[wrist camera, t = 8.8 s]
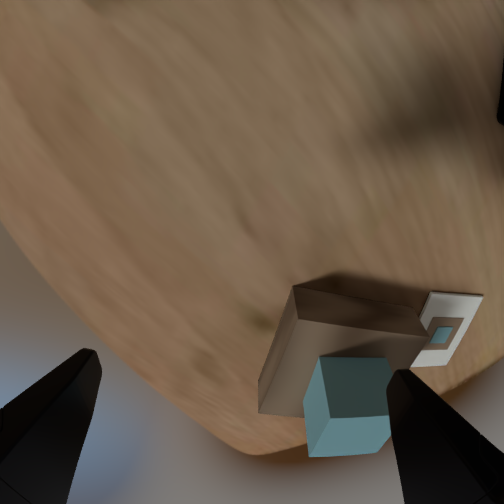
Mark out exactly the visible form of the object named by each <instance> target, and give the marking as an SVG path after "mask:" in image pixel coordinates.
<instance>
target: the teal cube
mask: <svg viewBox="0 0 504 504" xmlns="http://www.w3.org/2000/svg"><path fill="white" fill-rule="evenodd" d="M392 376H393V373H392V371H391V368H390V365H389V363H388V360H387V358H353V357H319V358H318V361H317V364H316V367H315V369H314V372H313V375H312V378H311V381H310V383H309V386H308V389H307V392H306V394H305V397H304V400H303V407H304V415H305V424H306V433H307V443H308V452H309V457H326V456H344V455H357V454H367V453H376V452H377V451H378V450H379V449H380V448H381V447H382V445H383V444H384V443H385V442H386V440H387V439H388V438H389V437H390V436H391V430H390V421H389V413H388V404H387V397H386V388H387V385H388V383H389V381H390V379H391V377H392Z"/></svg>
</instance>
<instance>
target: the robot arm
mask: <svg viewBox="0 0 504 504" xmlns="http://www.w3.org/2000/svg"><path fill="white" fill-rule="evenodd" d="M503 116H504V60H503V73H502V83H501V91H500V99H499V106H498V113H497V120H498V122H499V123H500V124H501V125H503V126H504V120H503ZM101 377H102V368H101V364H100V362H99V358H98V355H97V353H96V351H95V350H92V349H87V348H83V349H81V350H79V351H78V352H77V353H75V354H74V355H72V356H71V357H70V358H68V359H67V360H66V361H64V362H63V363H62V364H60V365H59V366H57V367H56V368H55V369H53V370H52V371H51V372H49V373H48V374H47V375H45V376H44V377H42V378H41V379H40V380H38V381H37V382H36V383H34V384H33V385H32V386H30V387H29V388H28V389H26V390H25V391H24V392H22V393H21V394H20V395H18V396H17V397H16V398H14V399H13V400H12V401H10V402H9V403H7V404H6V405H5V406H4V407H3V408H1V409H0V504H66V503H67V499H68V495H69V491H70V488H71V484H72V480H73V477H74V473H75V470H76V467H77V463H78V460H79V457H80V453H81V450H82V447H83V444H84V441H85V438H86V434H87V432H88V428H89V425H90V422H91V419H92V416H93V411H94V407H95V402H96V398H97V394H98V389H99V385H100V381H101ZM386 397H387V404H388V413H389V421H390V430H391V436H392V441H393V446H394V450H395V455H396V460H397V465H398V470H399V475H400V480H401V486H402V491H403V497H404V502H405V504H504V453H503V452H501V451H500V450H499V449H498V448H496V447H495V446H494V445H493V444H492V443H491V442H489V441H488V440H487V439H486V438H485V437H484V436H483V435H480V432H478V431H477V430H476V429H475V428H474V427H473V426H472V425H471V424H470V423H469V422H467V421H466V420H465V419H464V418H463V417H462V416H461V415H460V414H459V413H458V412H456V411H455V410H454V409H453V408H452V407H451V406H450V405H449V404H448V403H446V402H445V401H444V400H443V399H442V398H441V397H440V396H439V395H438V394H436V393H435V392H434V391H433V390H432V389H431V388H430V387H429V386H427V385H426V384H425V383H424V382H423V381H422V380H421V379H420V378H419V377H417V376H416V375H415V374H414V373H413V372H412V371H411V370H409V369H397V370H396V371H395V372H394V374H393V376H392V377H391V379H390V381H389V383H388V385H387V388H386Z"/></svg>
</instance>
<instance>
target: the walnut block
mask: <svg viewBox="0 0 504 504" xmlns="http://www.w3.org/2000/svg"><path fill="white" fill-rule="evenodd" d="M429 338H430V336H429V335H428V333H427V331H426V329H425V328H424V326H423V324H422V323H421V321H420V319H419V318H418V316H417V314H416V313H415V311H414V309H413V308H412V307H407V306H401V305H396V304H390V303H384V302H378V301H372V300H367V299H361V298H355V297H350V296H344V295H338V294H333V293H327V292H322V291H317V290H311V289H306V288H301V287H295V286H292V289H291V292H290V295H289V297H288V300H287V303H286V306H285V309H284V312H283V315H282V317H281V320H280V323H279V326H278V329H277V331H276V334H275V337H274V340H273V342H272V345H271V348H270V350H269V353H268V356H267V359H266V361H265V364H264V367H263V369H262V372H261V374H260V377H259V380H258V413H260V414H269V415H278V416H288V417H300V418H305V415H304V407H303V400H304V397H305V394H306V392H307V389H308V386H309V383H310V381H311V378H312V375H313V372H314V369H315V367H316V364H317V361H318V358H319V357H353V358H387V360H388V363H389V365H390V368H391V371H392V373H393V374H394V372H395V371H396V370H397V369H409V368H410V367H411V365H412V364H413V362H414V361H415V359H416V358H417V356H418V355H419V353H420V352H421V350H422V349H423V347H424V346H425V344H426V343H427V341H428V339H429Z"/></svg>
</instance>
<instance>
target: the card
mask: <svg viewBox="0 0 504 504" xmlns="http://www.w3.org/2000/svg"><path fill="white" fill-rule="evenodd" d="M482 299H483V297H482V295H469V294H455V293H442V292H430V294H429V296H428V298H427V301H426V303H425V305H424V307H423V310H422V312H421V314H420V316H419V319H420V321H421V323H422V324H423V326H424V328H425V329H426V331H427V333H428V335H429V336H430V338H429V339H428V341H427V343H426V344H425V346H424V347H423V349H422V350H421V352H420V353H419V355H418V356H417V358H416V359H415V361H414V362H413V364H412V365H411V367H424V366H442V365H446V364H447V363H448V361H449V359H450V358H451V356H452V354H453V353H454V351H455V349H456V348H457V346H458V344H459V342H460V341H461V339H462V337H463V335H464V334H465V332H466V330H467V328H468V326H469V324H470V322H471V321H472V319H473V317H474V315H475V313H476V311H477V309H478V307H479V305H480V303H481V301H482Z"/></svg>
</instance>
